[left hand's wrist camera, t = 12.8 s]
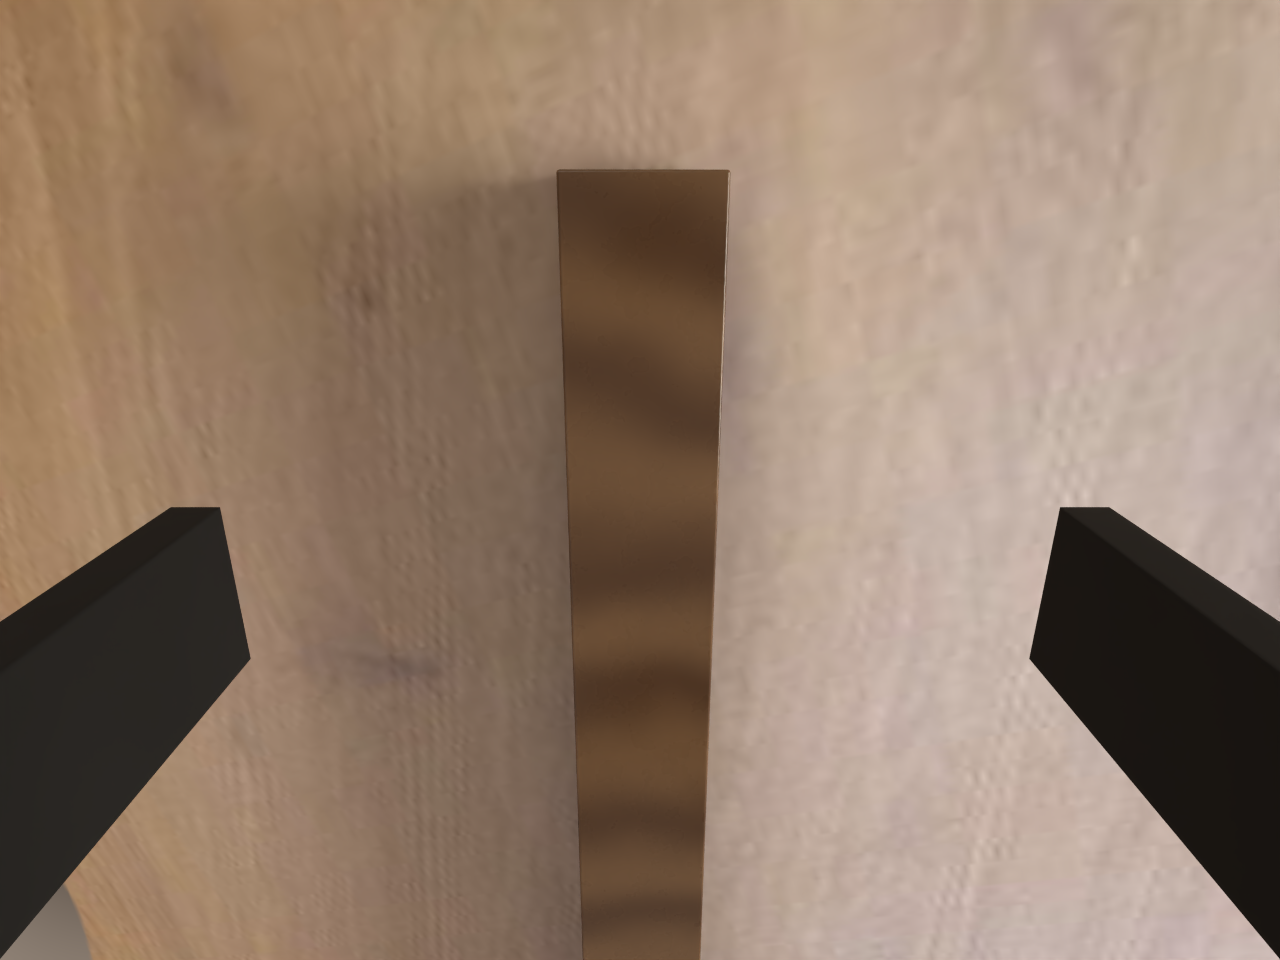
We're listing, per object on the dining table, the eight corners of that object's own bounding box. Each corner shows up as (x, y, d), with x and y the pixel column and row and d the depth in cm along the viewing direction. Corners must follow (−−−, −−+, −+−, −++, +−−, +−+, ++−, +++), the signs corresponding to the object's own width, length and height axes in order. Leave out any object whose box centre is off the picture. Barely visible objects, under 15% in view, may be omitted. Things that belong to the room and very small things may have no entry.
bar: (573, 174, 33) (556, 169, 26) (711, 174, 33) (730, 169, 26) (597, 1057, 51) (590, 1192, 45) (684, 1057, 51) (691, 1192, 45)
